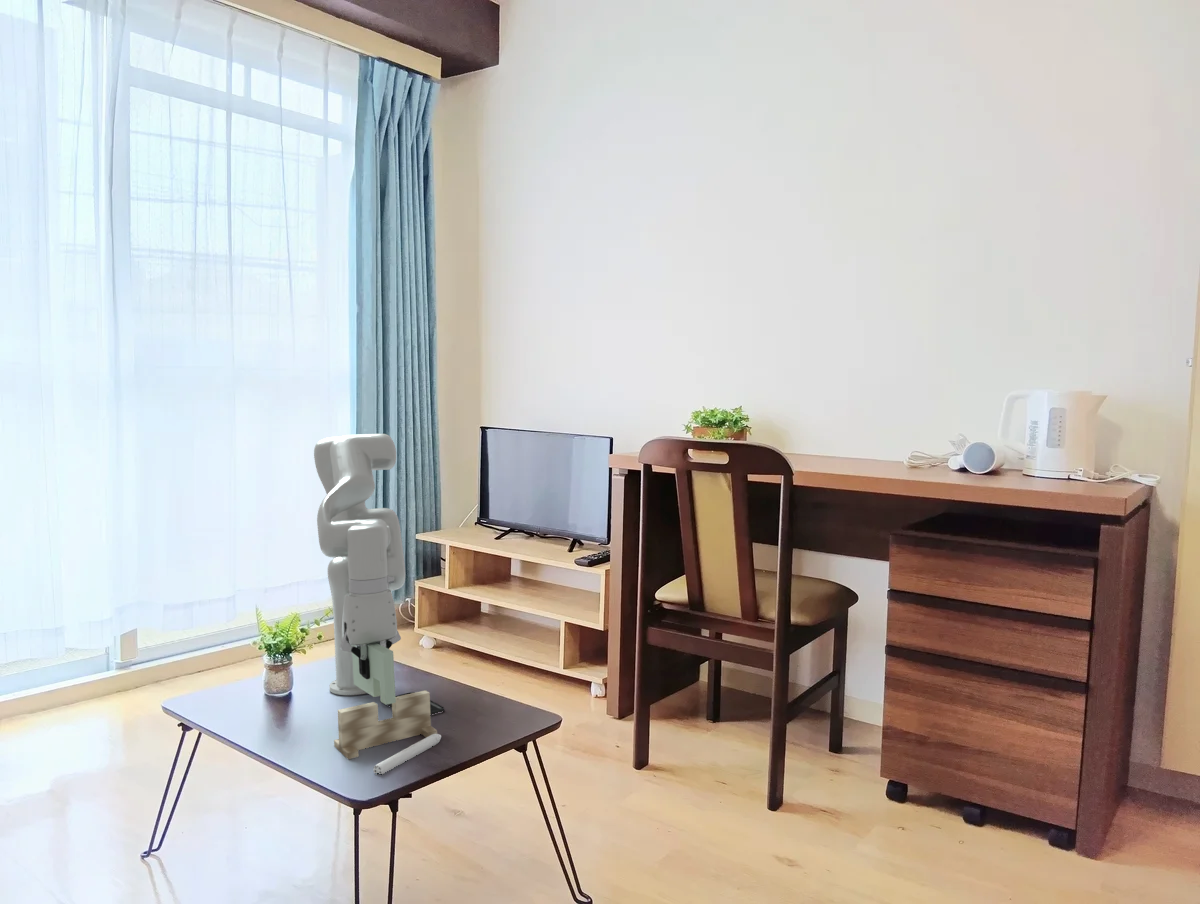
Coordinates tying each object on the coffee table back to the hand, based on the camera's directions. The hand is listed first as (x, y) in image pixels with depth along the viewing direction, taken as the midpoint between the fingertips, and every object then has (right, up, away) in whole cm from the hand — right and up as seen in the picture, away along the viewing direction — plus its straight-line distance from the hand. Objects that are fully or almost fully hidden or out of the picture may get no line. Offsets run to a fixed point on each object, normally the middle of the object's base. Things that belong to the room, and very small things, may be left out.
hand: (372, 675), depth 175 cm
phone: (+5, -11, +15) cm, 19 cm away
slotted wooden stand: (+4, -12, -5) cm, 13 cm away
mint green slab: (0, -3, 0) cm, 3 cm away
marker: (+11, -13, -12) cm, 20 cm away
